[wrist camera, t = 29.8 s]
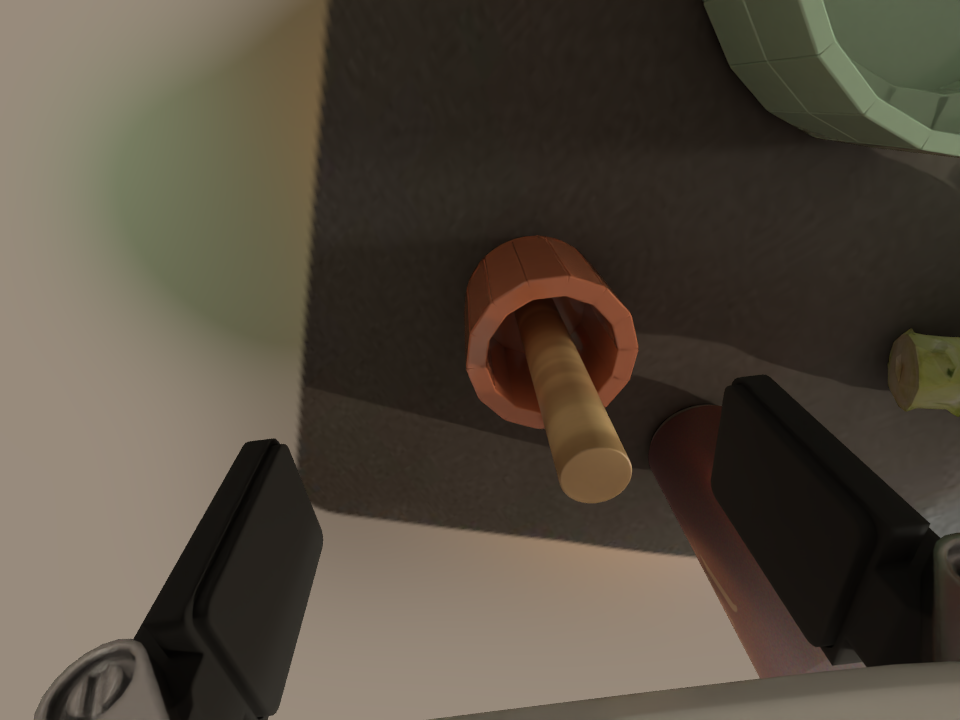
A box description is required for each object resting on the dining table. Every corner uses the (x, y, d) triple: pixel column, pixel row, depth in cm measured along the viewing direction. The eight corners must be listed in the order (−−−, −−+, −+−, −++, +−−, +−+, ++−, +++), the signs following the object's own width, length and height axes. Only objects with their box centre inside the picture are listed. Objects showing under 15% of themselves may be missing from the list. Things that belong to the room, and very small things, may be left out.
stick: (512, 292, 23) (558, 452, 13) (554, 287, 23) (634, 443, 13) (515, 330, 24) (560, 507, 14) (555, 325, 24) (631, 499, 14)
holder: (454, 244, 23) (454, 289, 17) (599, 226, 23) (642, 266, 17) (472, 368, 26) (476, 437, 21) (599, 352, 26) (635, 418, 20)
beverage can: (756, 456, 30) (998, 745, 16) (662, 493, 31) (817, 792, 17) (731, 381, 27) (996, 654, 14) (630, 425, 28) (783, 716, 15)
